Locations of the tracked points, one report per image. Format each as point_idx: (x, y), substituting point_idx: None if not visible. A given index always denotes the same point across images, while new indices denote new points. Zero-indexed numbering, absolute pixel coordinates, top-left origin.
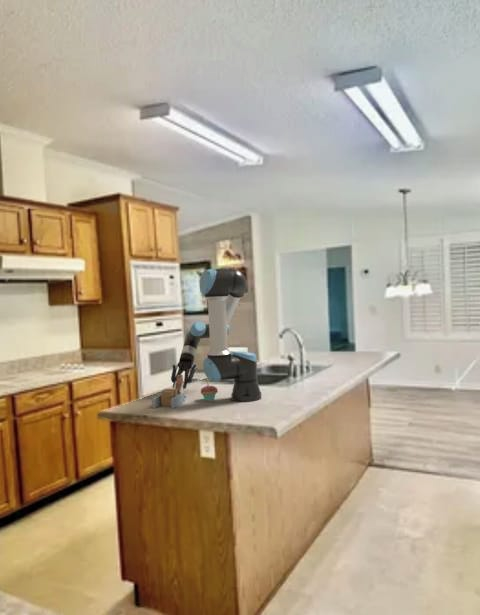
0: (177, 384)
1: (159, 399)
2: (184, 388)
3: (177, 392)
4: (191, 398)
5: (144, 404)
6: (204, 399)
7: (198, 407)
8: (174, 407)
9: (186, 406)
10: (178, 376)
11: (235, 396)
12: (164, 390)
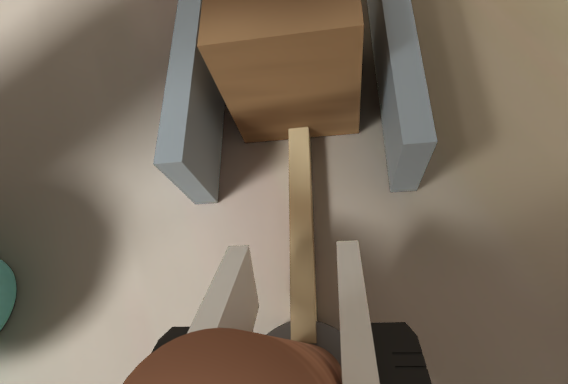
0: (311, 349)
1: (377, 12)
2: None
3: (332, 358)
4: None
5: (552, 57)
6: (11, 275)
7: (52, 66)
8: None
9: (141, 72)
10: (225, 331)
11: None
12: None
